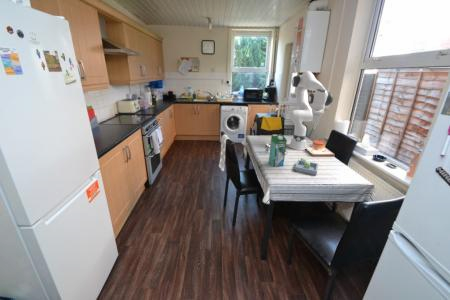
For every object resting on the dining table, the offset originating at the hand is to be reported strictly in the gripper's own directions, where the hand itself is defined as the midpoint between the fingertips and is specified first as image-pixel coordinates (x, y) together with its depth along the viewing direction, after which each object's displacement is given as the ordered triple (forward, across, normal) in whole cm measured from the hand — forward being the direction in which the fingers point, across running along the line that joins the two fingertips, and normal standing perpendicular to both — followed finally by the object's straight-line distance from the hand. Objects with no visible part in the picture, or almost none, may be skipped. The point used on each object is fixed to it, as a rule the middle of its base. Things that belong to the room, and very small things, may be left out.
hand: (314, 127), depth 167 cm
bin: (+31, +14, 0) cm, 34 cm away
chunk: (+31, +3, -4) cm, 32 cm away
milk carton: (+31, +17, -24) cm, 43 cm away
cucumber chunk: (+30, +14, 0) cm, 33 cm away
